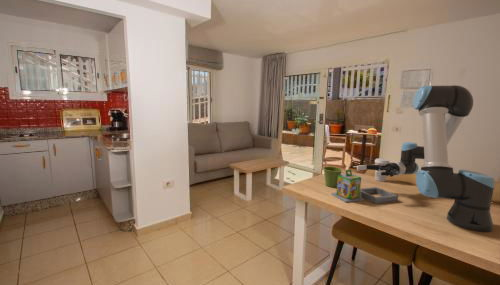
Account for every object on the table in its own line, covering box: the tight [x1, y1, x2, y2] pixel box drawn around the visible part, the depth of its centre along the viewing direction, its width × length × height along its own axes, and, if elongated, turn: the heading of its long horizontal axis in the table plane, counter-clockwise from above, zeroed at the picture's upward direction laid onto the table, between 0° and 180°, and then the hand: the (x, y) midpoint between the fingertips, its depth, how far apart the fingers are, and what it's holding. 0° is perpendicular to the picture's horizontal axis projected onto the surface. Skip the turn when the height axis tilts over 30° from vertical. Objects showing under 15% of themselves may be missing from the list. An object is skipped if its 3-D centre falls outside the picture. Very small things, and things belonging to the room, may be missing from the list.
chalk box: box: [335, 169, 362, 199], centre depth 133 cm, size 9×9×15 cm
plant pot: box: [322, 166, 343, 188], centre depth 154 cm, size 12×12×11 cm
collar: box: [360, 186, 399, 205], centre depth 136 cm, size 15×15×3 cm
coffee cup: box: [374, 157, 391, 182], centre depth 168 cm, size 10×10×15 cm
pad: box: [331, 192, 365, 203], centre depth 135 cm, size 12×12×1 cm
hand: (366, 170), depth 136 cm, fingers open, 13 cm apart
